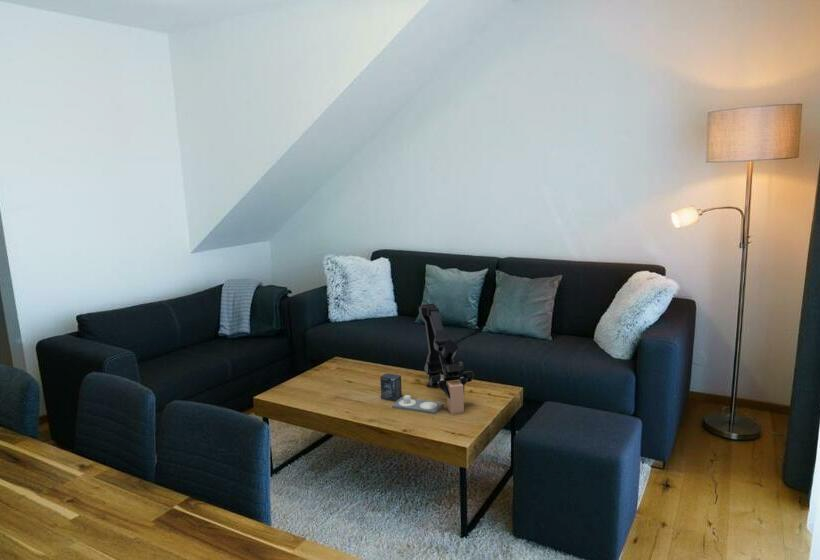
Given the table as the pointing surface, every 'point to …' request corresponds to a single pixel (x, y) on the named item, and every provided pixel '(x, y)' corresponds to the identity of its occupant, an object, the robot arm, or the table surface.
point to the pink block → (455, 397)
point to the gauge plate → (417, 405)
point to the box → (391, 387)
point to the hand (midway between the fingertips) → (456, 397)
